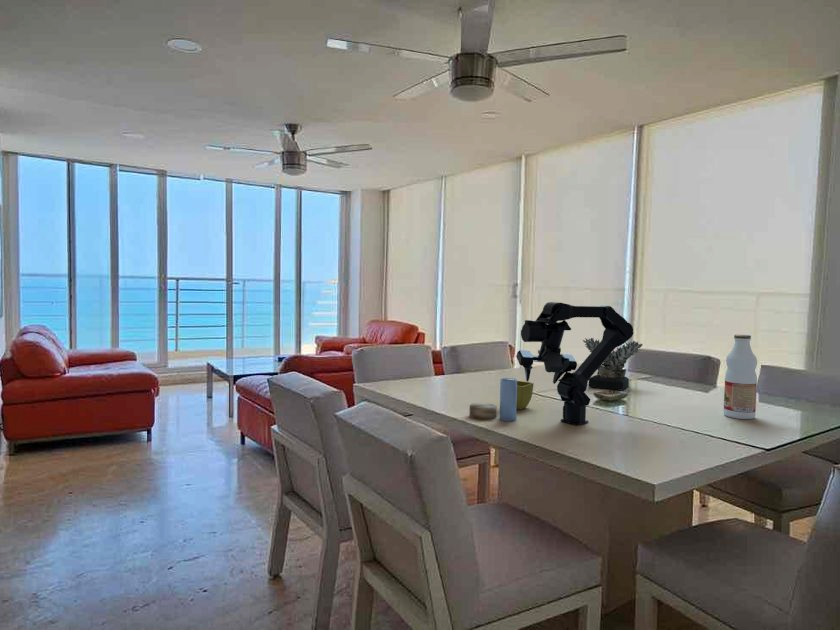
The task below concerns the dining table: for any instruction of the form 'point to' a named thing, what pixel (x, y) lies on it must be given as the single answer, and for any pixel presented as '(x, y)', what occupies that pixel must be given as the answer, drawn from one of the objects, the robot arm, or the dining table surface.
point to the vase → (508, 399)
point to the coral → (612, 366)
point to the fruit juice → (740, 380)
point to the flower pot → (524, 394)
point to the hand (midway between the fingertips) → (540, 382)
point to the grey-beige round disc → (483, 411)
